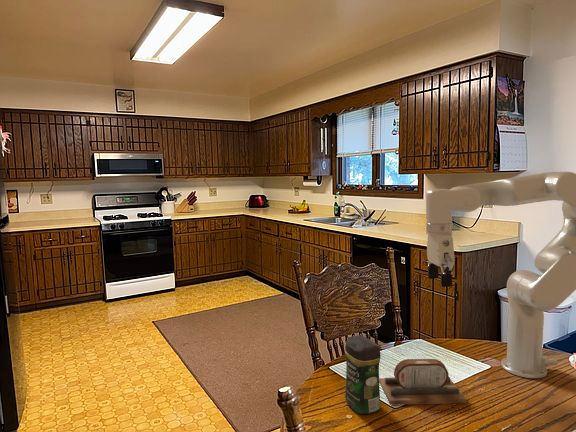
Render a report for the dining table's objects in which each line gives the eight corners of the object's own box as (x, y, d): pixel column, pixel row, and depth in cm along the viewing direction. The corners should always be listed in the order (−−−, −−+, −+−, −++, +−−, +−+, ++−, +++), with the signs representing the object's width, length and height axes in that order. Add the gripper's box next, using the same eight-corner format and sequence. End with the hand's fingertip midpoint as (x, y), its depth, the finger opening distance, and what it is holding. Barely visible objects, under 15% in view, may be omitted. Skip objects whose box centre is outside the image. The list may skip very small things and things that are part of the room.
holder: (448, 380, 120) (448, 372, 120) (466, 403, 108) (466, 393, 108) (379, 382, 120) (379, 373, 120) (389, 404, 108) (389, 395, 108)
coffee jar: (340, 399, 111) (340, 335, 109) (364, 393, 114) (365, 330, 112) (359, 419, 102) (359, 349, 100) (385, 411, 105) (385, 343, 103)
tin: (445, 385, 116) (445, 357, 115) (449, 390, 112) (450, 362, 112) (393, 386, 115) (393, 358, 115) (396, 392, 112) (396, 363, 111)
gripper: (464, 231, 115) (464, 289, 117) (438, 224, 133) (439, 275, 134) (439, 233, 115) (439, 290, 117) (416, 226, 132) (417, 276, 134)
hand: (439, 282), depth 126 cm, fingers open, 9 cm apart
